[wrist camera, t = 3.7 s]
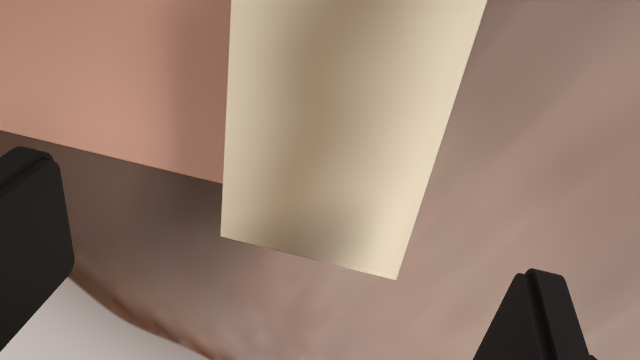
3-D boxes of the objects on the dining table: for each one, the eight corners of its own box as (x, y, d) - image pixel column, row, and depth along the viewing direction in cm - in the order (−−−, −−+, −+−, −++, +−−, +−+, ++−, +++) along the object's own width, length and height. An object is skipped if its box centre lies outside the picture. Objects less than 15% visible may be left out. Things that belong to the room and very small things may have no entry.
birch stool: (469, -53, 18) (487, -1, 11) (408, 158, 23) (395, 280, 16) (307, -84, 18) (233, -52, 12) (281, 130, 23) (220, 235, 17)
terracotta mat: (258, -142, 18) (254, -142, 17) (237, 181, 26) (233, 186, 25) (-98, -207, 19) (-109, -208, 18) (-14, 120, 27) (-21, 125, 26)
